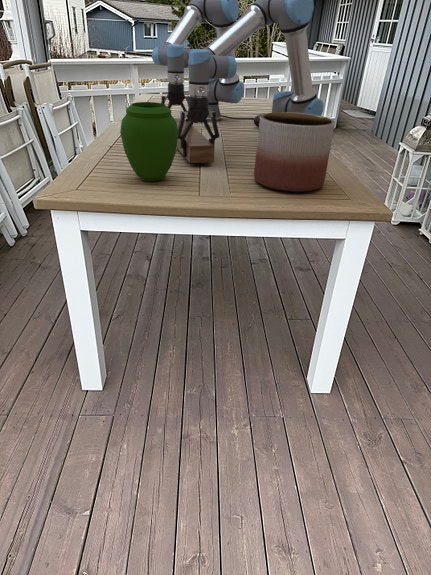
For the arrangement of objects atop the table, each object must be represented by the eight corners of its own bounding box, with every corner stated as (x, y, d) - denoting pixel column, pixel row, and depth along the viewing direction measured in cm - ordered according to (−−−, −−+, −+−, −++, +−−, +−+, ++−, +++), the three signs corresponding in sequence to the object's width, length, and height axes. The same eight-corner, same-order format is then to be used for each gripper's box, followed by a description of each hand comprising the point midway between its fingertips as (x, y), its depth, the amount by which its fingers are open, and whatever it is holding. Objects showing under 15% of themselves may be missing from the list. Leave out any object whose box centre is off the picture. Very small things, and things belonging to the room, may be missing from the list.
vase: (131, 189, 135) (125, 110, 122) (118, 172, 150) (112, 100, 137) (186, 184, 142) (187, 109, 129) (169, 168, 157) (167, 99, 144)
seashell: (267, 127, 236) (269, 112, 232) (270, 129, 231) (271, 114, 227) (251, 126, 235) (253, 111, 230) (253, 128, 230) (255, 113, 226)
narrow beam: (163, 131, 205) (163, 118, 202) (183, 131, 208) (183, 118, 205) (189, 162, 160) (189, 146, 156) (213, 162, 162) (214, 145, 159)
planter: (334, 194, 140) (348, 126, 129) (263, 195, 136) (271, 125, 125) (308, 172, 162) (318, 112, 150) (246, 172, 157) (251, 111, 146)
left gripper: (152, 83, 183) (154, 135, 195) (201, 84, 189) (200, 134, 201) (150, 81, 189) (152, 132, 201) (197, 82, 195) (196, 131, 207)
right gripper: (171, 97, 149) (171, 159, 160) (229, 98, 154) (226, 157, 166) (167, 94, 155) (168, 154, 166) (224, 95, 160) (221, 153, 172)
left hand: (176, 133), depth 201 cm, fingers closed on narrow beam, 10 cm apart
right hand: (197, 156), depth 166 cm, fingers closed on narrow beam, 10 cm apart
